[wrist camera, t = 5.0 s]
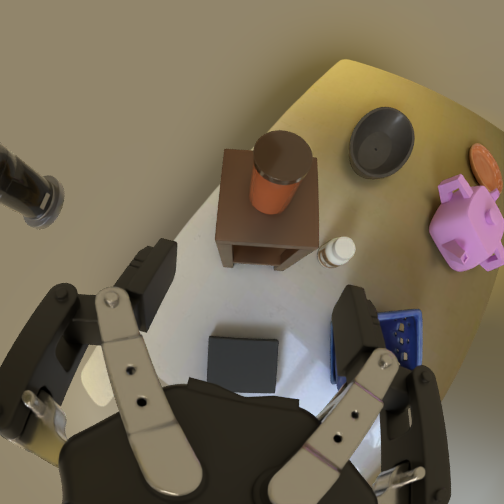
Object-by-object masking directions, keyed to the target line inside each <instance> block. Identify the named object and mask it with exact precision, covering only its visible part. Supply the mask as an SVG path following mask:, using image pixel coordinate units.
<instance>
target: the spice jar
mask: <svg viewBox="0 0 504 504" xmlns="http://www.w3.org/2000/svg"><path fill="white" fill-rule="evenodd" d="M312 162H313V156H312V152H311V149H310V147H309V145H308V144H307V143H306V142H305V141H304V140H303V139H302V138H301V137H300V136H298V135H296V134H294V133H292V132H288V131H282V130H278V131H271V132H268V133H266V134H264V135H263V136H261V137H260V138H259V139H258V141H257V142H256V144H255V146H254V150H253V167H252V174H251V182H250V189H249V198H250V201H251V203H252V205H253V206H254V207H255V208H256V209H257V210H258V211H260V212H262V213H265V214H278V213H280V212H282V211H284V210H285V209H286V208H287V207H288V205H289V204H290V202H291V200H292V198H293V196H294V194H295V193H296V191H297V189H298V187H299V185H300V184H301V182H302V180H303V178H304V177H305V176H306V175H307V174H308V172H309V170H310V168H311V166H312Z"/></svg>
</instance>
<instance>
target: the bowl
mask: <svg viewBox="0 0 504 504" xmlns="http://www.w3.org/2000/svg"><path fill="white" fill-rule="evenodd" d="M413 146H414V130H413V127H412V124H411V123H410V121H409V119H408V118H407V117H406V116H405V115H404V114H403V113H402V112H400V111H398V110H396V109H394V108H390V107H380V108H377V109H374V110H372V111H370V112H369V113H367V114H366V115H365V116H364V117H363V118H362V119H361V120H360V121H359V122H358V123H357V125H356V127H355V128H354V130H353V133H352V136H351V140H350V145H349V159H350V163H351V166H352V168H353V170H354V171H355V172H356V173H357V174H358V175H359V176H361V177H363V178H367V179H379V178H384V177H387V176H390V175H392V174H394V173H395V172H397V171H398V170H399V169H400V168H401V167H402V166H403V165H404V164H405V163H406V161H407V160H408V158H409V156H410V154H411V152H412V149H413Z"/></svg>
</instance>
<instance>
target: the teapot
mask: <svg viewBox="0 0 504 504" xmlns="http://www.w3.org/2000/svg"><path fill="white" fill-rule="evenodd" d="M457 188H459V190H458V191H456V192H454V193H452V191H453V190H455V189H457ZM438 189H439V194H440V199H441V205H440V206H439V208H438V209H437V211H436V213H435V214H434V216H433V218H432V220H431V223H430V226H429V232H430V235H431V236H432V238H433V240H434V242H435V244H436V245H437V247H438V249H439V251H440V252H441V254H442V255H443V257H444V259H445V260H446V262H447V263H448V264H449V266H450V267H451V268H452V269H454V270H456V271H466V270H468V269H471V268H473V267H475V266H477V265H478V264H480V265H481V266H482V267H483V268H484V269H485V270H487V271H491V270H493V269H495V268H498V267H500V266H502V265H504V248H503V246H502V244H501V241H500V240H501V238H502V235H503V231H504V219H503V217H502V215H501V213H500V211H499V209H498V207H497V205H496V203H495V201H496V200H497V198H498V197H499V195H500V193H499V191H498V189H497V188H496V189H494V190H493V191H491V192H489V191H488V190H487V188H486V187H485V186H473V187H470V186H469V184H468V183H467V181H466V180H465V178H464V177H463V175H462V174H459V175H456V176H454V177H451V178H448V179H446V180H443V181H442V182H441V183H440V184H439V186H438ZM493 253H495V255H493V256H491V255H492V254H493Z"/></svg>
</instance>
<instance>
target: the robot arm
mask: <svg viewBox="0 0 504 504" xmlns="http://www.w3.org/2000/svg"><path fill="white" fill-rule="evenodd" d="M54 199H55V188H54V185H53V184H52V183H51V182H50V181H49V180H47V179H45V178H44V177H43V176H41V175H40V174H39V173H38V172H36V171H35V170H34V169H32V168H31V167H30V166H28V165H27V164H26V163H25V162H23V161H22V160H21V159H20V158H18V157H17V156H16V155H14V154H13V153H12V152H11V151H10V150H8V149H7V148H6V147H5V146H3V145H2V144H1V143H0V204H2V205H3V206H5V207H7V208H9V209H12V210H13V211H15V212H17V213H19V214H21V215H23V216H25V217H27V218H28V219H30V220H32V221H39V220H41V219H43V218H44V217H45V216H46V215H47V214H48V212H49V211H50V209H51V207H52V205H53V202H54ZM176 258H177V242H175V241H171V240H167V239H163V238H161V239H160V240H159V241H158V243H157V244H156V245H155V246H154V247H150V246H147V247H145V248H144V249H142V250H140V251H139V252H138V254H137V255H136V256H135V258H134V260H132V261H131V263H130V265H129V266H128V267H127V268H126V269H125V271H124V272H123V274H122V275H121V276H120V278H119V279H118V280H117V282H116V283H115V285H114V286H113V287H107V288H104V289H102V290H101V291H99V293H98V294H97V295H82V294H78V293H77V289H76V288H75V287H74V286H73V285H71V284H68V283H61V284H58V285H56V286H54V287H52V288H51V289H50V291H49V292H48V293H47V295H46V296H45V297H44V299H43V300H42V302H41V303H40V304H39V306H38V307H37V308H36V310H35V311H34V313H33V314H32V316H31V317H30V319H29V320H28V322H27V323H26V325H25V326H24V328H23V329H22V331H21V333H20V334H19V336H18V337H17V339H16V341H15V342H14V344H13V346H12V348H11V349H10V351H9V352H8V354H7V356H6V358H5V360H4V361H3V363H2V365H1V367H0V435H1V436H2V437H3V438H5V439H6V440H8V441H10V442H11V443H14V444H15V445H16V446H18V447H20V448H23V449H25V450H27V451H29V452H31V453H34V454H35V455H37V456H38V457H40V458H42V459H43V460H45V461H47V462H48V463H50V464H52V465H54V466H56V467H57V468H59V472H60V477H61V482H62V491H63V500H62V504H448V502H449V500H450V497H451V478H450V463H449V453H448V444H447V436H446V429H445V422H444V416H443V411H442V405H441V400H440V395H439V391H438V386H437V382H436V378H435V375H434V373H433V372H432V371H431V370H430V369H429V368H428V367H426V366H424V365H419V366H417V367H415V368H414V369H413V370H409V369H407V368H404V367H402V366H400V365H399V363H398V360H397V358H396V356H395V355H394V354H393V353H392V352H391V351H389V350H388V349H386V345H385V341H384V337H383V333H382V330H381V326H380V322H379V319H378V315H377V311H376V308H375V307H374V305H373V304H372V303H371V301H370V300H367V299H366V295H365V291H364V289H363V288H361V287H357V286H353V285H347V286H346V287H345V289H344V291H343V293H342V294H341V296H340V298H339V300H338V302H337V303H336V305H335V307H334V309H333V313H332V326H333V334H334V344H335V354H336V365H337V376H343V377H346V382H345V383H344V384H343V386H342V387H341V388H340V389H339V391H338V392H337V393H336V394H335V396H334V397H333V398H332V399H331V400H330V402H329V403H328V404H327V405H326V406H325V408H324V409H323V410H322V411H321V412H320V413H319V414H318V415H317V416H316V417H315V416H314V415H313V414H311V413H310V412H308V411H306V410H305V409H303V408H300V407H299V399H292V398H285V397H278V396H259V397H243V396H241V395H238V394H236V393H234V392H232V391H230V390H227V389H225V388H223V387H221V386H219V385H217V384H213V383H209V382H205V381H201V380H198V379H194V378H190V377H189V380H188V384H175V385H169V386H166V387H161V384H160V382H159V379H158V377H157V374H156V372H155V369H154V366H153V364H152V361H151V358H150V356H149V353H148V350H147V347H146V344H145V342H144V339H143V336H142V334H141V335H140V332H139V330H140V331H143V332H146V333H147V331H148V329H149V327H150V325H151V323H152V321H153V319H154V317H155V315H156V313H157V311H158V309H159V307H160V305H161V303H162V301H163V299H164V297H165V295H166V293H167V291H168V289H169V287H170V285H171V283H172V281H173V279H174V276H175V272H176ZM89 344H90V345H101V346H102V351H103V355H104V360H105V364H106V368H107V372H108V376H109V379H110V383H111V387H112V390H113V393H114V397H115V400H116V403H117V406H118V409H119V412H117V413H116V414H113V415H112V416H110V417H108V418H106V419H104V420H102V421H100V422H99V423H97V424H95V425H93V426H91V427H89V428H87V429H85V430H83V431H81V432H79V433H77V434H75V435H73V436H72V437H70V438H69V439H67V437H66V434H65V426H66V416H65V413H64V411H63V409H62V408H61V405H62V402H63V400H64V397H65V395H66V392H67V390H68V388H69V386H70V383H71V381H72V379H73V377H74V374H75V372H76V370H77V368H78V366H79V364H80V362H81V359H82V357H83V355H84V353H85V351H86V349H87V347H88V345H89ZM409 408H411V416H412V425H411V427H410V425H409V416H408V409H409ZM379 413H380V429H381V474H380V475H379V476H378V477H377V479H376V481H375V483H374V484H373V485H372V488H371V487H370V485H369V484H368V483H367V482H366V480H365V479H364V478H363V477H362V475H361V474H360V473H359V472H358V470H357V469H356V468H355V466H354V465H353V464H352V463H351V461H350V460H349V459H350V457H351V456H352V454H353V453H354V452H355V450H356V449H357V447H358V446H359V444H360V443H361V441H362V440H363V438H364V437H365V435H366V434H367V432H368V431H369V429H370V428H371V426H372V424H373V423H374V421H375V419H376V418H377V416H378V414H379Z"/></svg>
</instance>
